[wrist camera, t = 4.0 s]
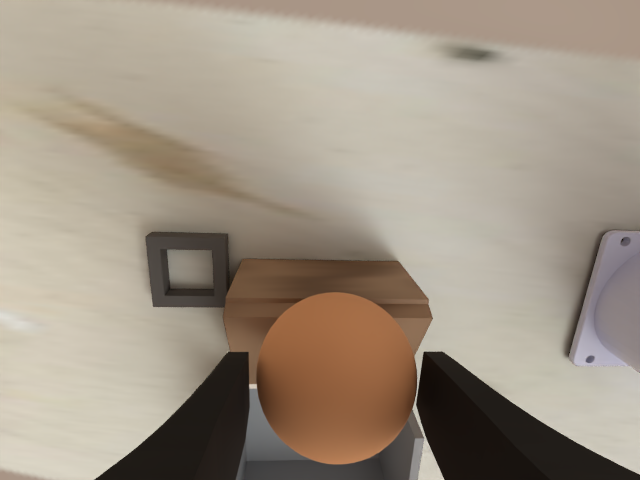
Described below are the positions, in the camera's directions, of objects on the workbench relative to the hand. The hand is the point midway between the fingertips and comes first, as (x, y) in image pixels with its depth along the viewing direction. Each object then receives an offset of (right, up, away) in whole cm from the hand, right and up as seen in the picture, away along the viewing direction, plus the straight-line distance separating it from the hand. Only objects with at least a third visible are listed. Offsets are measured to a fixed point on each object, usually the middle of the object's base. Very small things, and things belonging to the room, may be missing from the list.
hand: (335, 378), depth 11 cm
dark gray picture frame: (-7, +3, +7) cm, 10 cm away
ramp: (-1, 0, +8) cm, 8 cm away
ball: (0, 0, 0) cm, 0 cm away
